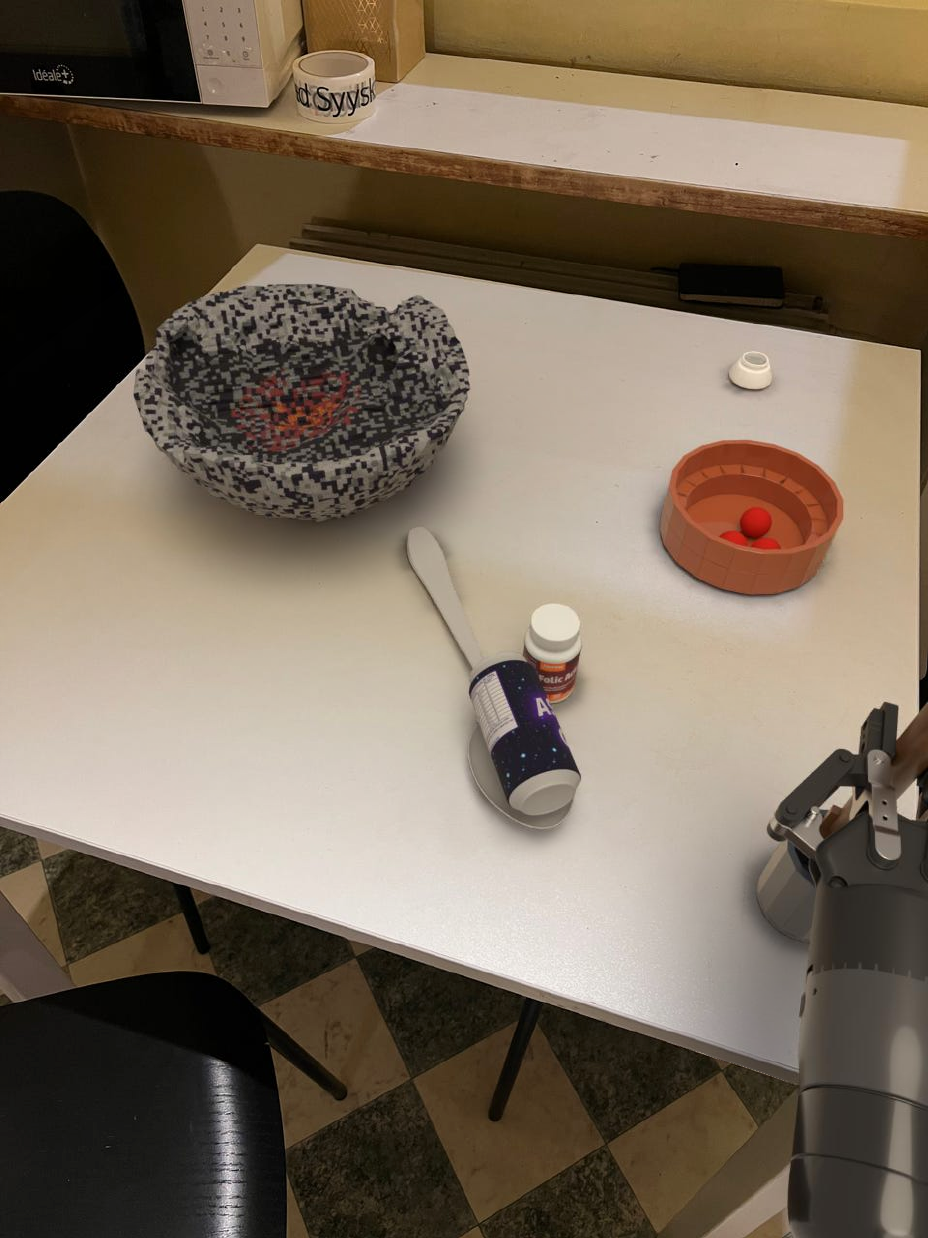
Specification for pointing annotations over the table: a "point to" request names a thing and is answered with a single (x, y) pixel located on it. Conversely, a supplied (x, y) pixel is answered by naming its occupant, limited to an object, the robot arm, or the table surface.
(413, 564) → the spoon
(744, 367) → the lidless jar
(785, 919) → the holder
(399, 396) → the bowl
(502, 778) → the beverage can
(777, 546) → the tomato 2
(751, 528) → the red ball
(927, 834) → the robot arm
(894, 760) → the stick
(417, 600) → the table surface
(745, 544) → the tomato
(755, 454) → the stew bowl
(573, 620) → the pill bottle
